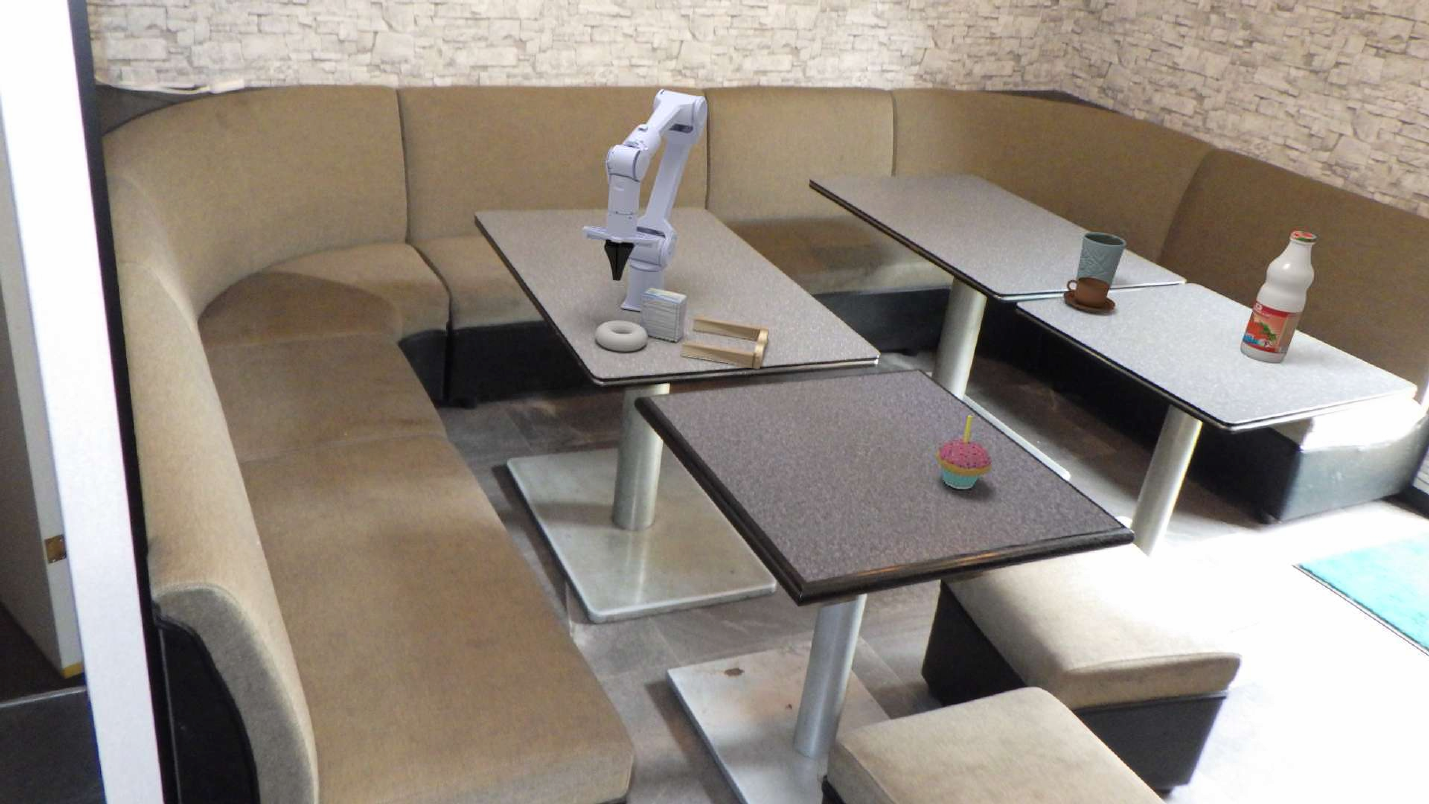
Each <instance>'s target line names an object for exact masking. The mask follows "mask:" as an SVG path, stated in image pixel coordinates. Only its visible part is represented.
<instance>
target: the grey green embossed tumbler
mask: <svg viewBox="0 0 1429 804" xmlns="http://www.w3.org/2000/svg"><path fill="white" fill-rule="evenodd" d="M1126 245H1127V242H1126V240H1125V239H1123V238H1121V237H1120V236H1116V235H1114V234H1110V233H1104V232H1098V231H1097V232H1095V231H1094V232H1093V231H1090V232H1086V233H1084V234H1083V237H1082V244H1081V249H1080V251H1081V252H1080V255H1079V263H1078V266H1077V273H1076V276H1075V280H1077V281H1078V279H1079V278H1081V277H1091V278H1096V279H1100V280H1103V281H1105V282H1107V283H1108V284H1109V285H1110V288H1111V287H1112V284H1113V279H1114V278H1115V275H1116V273H1117V270H1118V267H1119V264H1120V261H1121V257H1122V256H1123V253H1124V251H1125V247H1126ZM1110 288H1109V290H1110Z"/></svg>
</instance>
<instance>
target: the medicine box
mask: <svg viewBox="0 0 1429 804" xmlns="http://www.w3.org/2000/svg"><path fill="white" fill-rule="evenodd" d="M687 300H688V295H686V294H681V293H678V292H674V291H670V290H669V291H668V290H664V289H663V290H660V289H656V288H650V289H648V290H647V291H646V292H644V293H643V294H642V304H641V311H640V315H639V316H640V318H639V325H640V326H641V327H643V328H644V329H645V331H646V333H647V335H649V336H648V337H650V336H652V337H651V338H654V337H655V338H656V339H659V338H661V339H660V340H663V339H665V340H664V341H667V340H668V342H671V341H675V342H676V343H677V342H678V341H679V340H680V339H681V338H682V337H683V336H684V331H685V323H686V321H685V320H686V312H687ZM675 342H674V343H675Z"/></svg>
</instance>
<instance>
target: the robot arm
mask: <svg viewBox="0 0 1429 804" xmlns="http://www.w3.org/2000/svg"><path fill="white" fill-rule="evenodd" d="M707 117H708V101H707V100H706V98H705V96H703V95H700V96H699V95H692V94H687V93H682V92H677V91H672V90H667V89H664V88H661V89H660V90H659V91H658V92H657V93H656V95H655V96H654V100H653V105H652V114H651V116H650V118H649V119H648V121H647V122H646V124H639V125H637V126H636V127H635V128H634V129H633V130H632V132H631V133H630V134H629V135H628V136H627V137H626V138H625V140H623V142H622V144H616V145H615V146H611V148H610V149H609V150H608V153H607V156H606V160H605V165H604V166H605V171H606V175H607V176H606V177H607V178H606V183H607V185H608V186H609V188H608V189H609V190H608V202H607V215H606V225H605V226H606V227H603V226H590V225H589V226H588V225H585V226H584V227H583V228H582V234H581V238H582V239H584V240H585V239H586V240H588V239H592V240H599V241H605V243H604V246H603V248H604V252H605V254H606V256H607V260H608V261H609V265H610V268H611V270H610V271H611V276H612V281H618V282H620V281H621V279H622V278H623V274H624V270H625V267H626V265H628V266H629V267H628V278H627V279H628V281H627V291H626V298H625V299H624V301H623V302H622V303H621V305H620V308H621V309H623V310H628V311H629V310H631V311H636V312H641V304H642V294H643V293H644V292H646V291H647V290H648V289H650V288H656V289H660V290H664V286H665V284H664V283H665V275H666V269H667V268H668V267H670V265H672V263H673V261H674V258H675V255H676V254H675V253H676V246H677V241H678V234H677V232H676V230H675V229H674V228H673V226H672V225H671V224H670V222H669V219H670V216H671V212H672V210H673V206H674V203H675V200H676V197H677V193H678V189H679V187H680V183H681V180H682V177H683V176H682V175H683V172H684V170H685V167H686V163H687V159H688V156H689V153H690V150H691V147H692V145H693V144H696V143H698V142H700V140H701V137H702V134H703V131H704V128H705V124H706V123H707V122H706V121H707V119H708V118H707ZM662 138H664V139H665V141H666V144H665V147H664V151H663V154H662V157H661V161H660V163H659V167H658V170H657V174H656V177H655V181H654V183H653V188H652V190H651V194H650V198H649V200H648V203H647V207H646V211H645V213H644V215H642V216H638V215H639V205H640V204H639V203H640V194H641V193H640V192H641V184H642V183H641V182H642V180H643V179H645V177H646V174H647V172H648V168H649V166H650V163H651V158H653V156H654V154H656V152H657V151H658V150H659V149H660V147H661V145H662Z"/></svg>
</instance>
